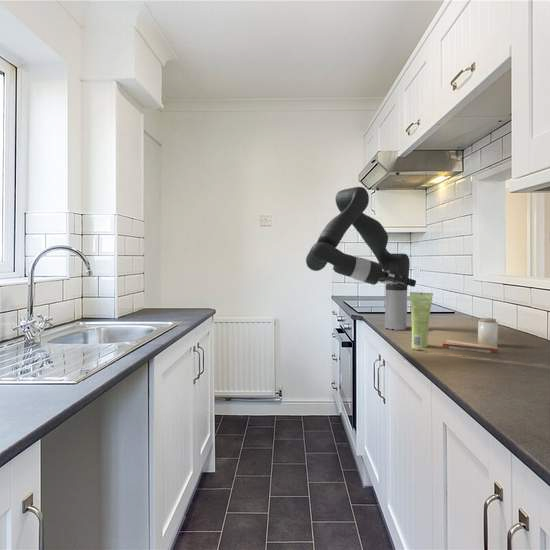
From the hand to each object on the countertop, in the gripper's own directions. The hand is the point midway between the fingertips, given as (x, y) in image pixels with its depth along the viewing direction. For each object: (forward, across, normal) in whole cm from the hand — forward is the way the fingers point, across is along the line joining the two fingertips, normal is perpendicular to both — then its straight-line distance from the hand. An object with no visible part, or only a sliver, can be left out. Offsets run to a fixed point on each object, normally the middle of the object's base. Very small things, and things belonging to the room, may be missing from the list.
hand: (409, 283), depth 131 cm
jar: (+33, 0, +12) cm, 36 cm away
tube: (+10, +1, +20) cm, 23 cm away
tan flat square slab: (+27, 0, +16) cm, 31 cm away
